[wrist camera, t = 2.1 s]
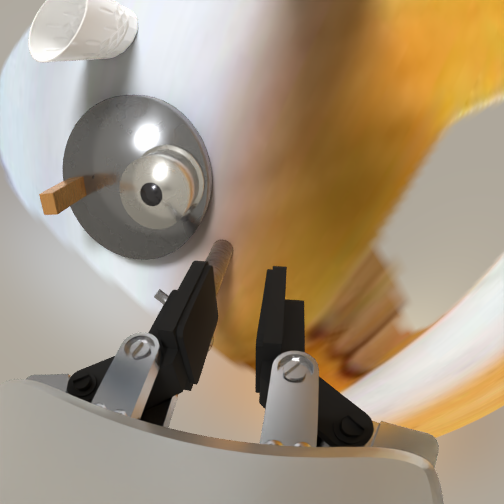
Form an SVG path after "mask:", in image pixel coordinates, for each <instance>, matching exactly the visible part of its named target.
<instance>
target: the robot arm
mask: <svg viewBox="0 0 504 504" xmlns="http://www.w3.org/2000/svg"><path fill="white" fill-rule="evenodd" d="M286 269H287V267H280V266H273V270H270V269H267V275H266V281H265V288H264V294H263V301H262V307H261V313H260V319H259V326H258V332H257V339H256V392H257V393H260V399H259V402H260V404H261V405H262V406H263V407H264V408H265V416H264V422H263V428H262V434H261V439H260V444H255V443H247V442H238V441H231V440H225V439H219V438H213V437H207V436H202V435H197V434H192V433H187V432H183V431H178V430H174V429H170V428H168V427H169V424H170V420H171V418H172V414H173V411H174V408H175V405H176V401H177V397H178V394H179V393H181V392H183V390H189V391H191V389H192V386H193V384H197V383H198V381H199V378H200V375H201V371H202V369H203V365H204V362H205V359H206V356H207V353H208V350H209V346H210V343H211V340H212V337H213V334H214V331H215V328H216V325H217V321H218V310H217V301H216V291H215V281H214V271H213V266H212V265H209V263H208V262H205V261H194V262H193V263H192V265H191V267H190V269H189V270H188V272H187V274H186V276H185V278H184V279H183V281H182V283H181V285H180V287H179V289H178V290H173V291H172V292H171V293H170V295H169V296H168V298H167V300H166V302H165V304H164V305H163V307H162V309H161V311H160V313H159V314H158V316H157V318H156V320H155V322H154V324H153V325H152V327H151V329H150V331H149V333H141V332H140V333H135V334H133V335H130V336H129V337H127V338H126V339H125V340H124V341H123V343H122V344H121V346H120V348H119V350H118V352H117V354H116V355H115V356H114V357H111V358H109V359H106V360H104V361H101V362H99V363H96V364H94V365H92V366H89V367H86V368H84V369H81V370H79V371H77V372H76V373H74V374H73V375H72V376H71V377H70V375H69V374H57V375H56V374H55V375H31V376H29V377H28V378H27V379H26V380H24V379H14V380H9V381H6V382H3V383H2V384H1V385H0V504H444V503H443V496H442V490H441V485H440V482H439V478H438V475H437V473H436V471H435V469H434V467H435V464H436V460H437V456H438V449H439V448H438V447H439V445H438V442H437V440H436V439H435V438H434V437H433V436H432V435H430V434H428V433H424V432H420V431H416V430H412V429H408V428H404V427H401V426H397V425H394V424H390V423H387V422H383V421H381V422H380V423H377V422H374V421H372V420H371V418H370V417H369V416H368V415H367V414H366V413H365V412H364V411H362V410H361V409H360V408H358V407H357V406H356V405H355V404H353V403H352V402H351V401H349V400H348V399H347V398H345V397H344V396H343V395H342V394H340V393H339V392H338V391H337V390H335V389H334V388H333V387H332V386H330V385H329V384H328V383H326V382H325V381H324V380H323V379H322V378H320V377H319V368H318V364H317V362H316V360H315V359H314V358H313V357H312V356H310V355H309V354H307V353H305V330H304V301H300V300H285V289H286Z"/></svg>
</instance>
